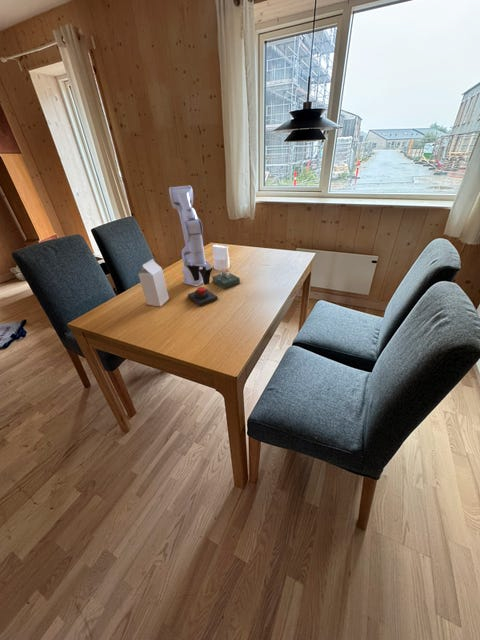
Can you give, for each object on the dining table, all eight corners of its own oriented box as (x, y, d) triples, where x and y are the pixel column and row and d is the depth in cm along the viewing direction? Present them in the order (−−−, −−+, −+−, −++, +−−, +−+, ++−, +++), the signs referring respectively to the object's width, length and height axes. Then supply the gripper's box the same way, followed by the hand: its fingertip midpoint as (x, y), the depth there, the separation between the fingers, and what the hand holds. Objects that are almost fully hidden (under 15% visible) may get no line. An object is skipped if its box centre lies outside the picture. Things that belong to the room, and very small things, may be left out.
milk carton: (169, 299, 120) (160, 259, 110) (160, 306, 115) (150, 265, 104) (156, 297, 123) (145, 258, 112) (146, 304, 117) (135, 264, 107)
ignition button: (196, 292, 118) (195, 288, 117) (203, 289, 120) (202, 286, 119) (200, 295, 116) (199, 291, 115) (207, 292, 117) (206, 288, 116)
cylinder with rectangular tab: (232, 265, 150) (231, 245, 144) (223, 271, 144) (221, 250, 138) (220, 263, 155) (218, 242, 148) (210, 268, 148) (208, 247, 142)
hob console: (212, 281, 134) (212, 276, 132) (227, 276, 138) (226, 271, 136) (225, 289, 126) (224, 283, 124) (239, 283, 131) (239, 277, 129)
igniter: (188, 297, 121) (186, 290, 119) (204, 291, 125) (204, 284, 123) (200, 306, 113) (199, 299, 112) (217, 299, 118) (216, 292, 116)
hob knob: (221, 276, 132) (221, 268, 129) (224, 275, 132) (223, 268, 130) (227, 279, 128) (226, 271, 126) (229, 278, 129) (229, 270, 127)
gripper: (179, 250, 111) (185, 281, 118) (198, 256, 101) (203, 289, 108) (193, 247, 115) (198, 276, 121) (213, 252, 105) (217, 284, 112)
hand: (201, 282), depth 115 cm, fingers open, 7 cm apart
